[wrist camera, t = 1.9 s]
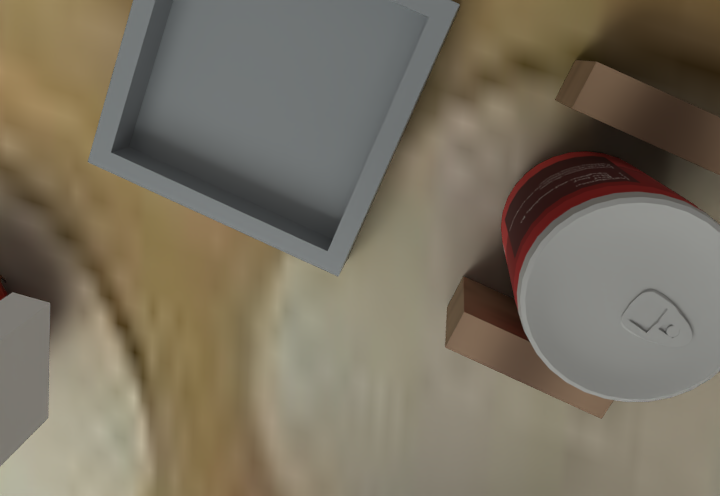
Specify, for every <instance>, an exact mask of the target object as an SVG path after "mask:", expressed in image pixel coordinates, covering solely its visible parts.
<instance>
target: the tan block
mask: <svg viewBox="0 0 720 496" xmlns="http://www.w3.org/2000/svg"><path fill="white" fill-rule="evenodd" d="M555 100H556V101H558V102H560V103H562V104H564V105H566V106H568V107H570V108H572V109H574V110H577V111H579V112H581V113H583V114H585V115H588V116H590V117H592V118H594V119H597V120H599V121H601V122H603V123H605V124H608V125H610V126H612V127H614V128H616V129H619V130H621V131H623V132H625V133H628V134H630V135H632V136H634V137H636V138H639V139H641V140H643V141H645V142H647V143H650V144H652V145H654V146H656V147H659V148H661V149H663V150H665V151H667V152H670V153H672V154H674V155H676V156H679V157H681V158H683V159H685V160H687V161H690V162H692V163H694V164H696V165H698V166H701V167H703V168H705V169H707V170H710V171H712V172H714V173H716V174H718V175H720V117H718V116H716V115H714V114H712V113H710V112H707V111H705V110H703V109H701V108H699V107H696V106H694V105H692V104H690V103H687V102H685V101H683V100H681V99H679V98H676V97H674V96H672V95H670V94H667V93H665V92H663V91H661V90H659V89H656V88H654V87H652V86H650V85H647V84H645V83H643V82H641V81H639V80H636V79H634V78H632V77H630V76H627V75H625V74H623V73H621V72H619V71H616V70H614V69H612V68H610V67H607V66H605V65H603V64H601V63H599V62H594V61H581V60H575V62H574V64H573V66H572V68H571V70H570V71H569V73H568V75H567V77H566V79H565V81H564V83H563V85H562V87H561V89H560V91H559V93H558V95H557V97H556V98H555ZM445 347H446V348H448V349H450V350H452V351H454V352H457V353H459V354H461V355H463V356H465V357H467V358H470V359H472V360H474V361H476V362H478V363H481V364H483V365H485V366H487V367H489V368H491V369H494V370H496V371H498V372H500V373H502V374H505V375H507V376H509V377H511V378H513V379H515V380H518V381H520V382H522V383H524V384H526V385H529V386H531V387H533V388H535V389H537V390H540V391H542V392H544V393H546V394H548V395H550V396H553V397H555V398H557V399H559V400H561V401H564V402H566V403H568V404H570V405H572V406H574V407H577V408H579V409H581V410H583V411H585V412H588V413H590V414H592V415H594V416H596V417H599V418H601V419H602V417H603V416H604V414H605V413H606V411H607V410H608V408H609V407H610V405H611V404H612V402H613V401H614V400H610V399H604V398H601V397H598V396H595V395H592V394H589V393H586V392H584V391H582V390H580V389H578V388H576V387H574V386H572V385H571V384H569V383H567V382H565V381H564V380H563V379H561V378H560V377H559V376H558V375H556V374H555V373H554V372H553V371H551V370H550V369H549V368H548V366H547V365H546V364H545V363H544V362H543V361H542V359H541V358H540V357H539V356H538V355H537V353H536V352H535V350H534V348H533V346H532V344H531V343H530V341H529V339H528V337H527V335H526V334H525V332H524V329H523V326H522V323H521V320H520V316H519V313H518V309H517V306H516V303H515V299H513V298H510V297H508V296H506V295H504V294H502V293H499V292H497V291H495V290H493V289H491V288H488V287H486V286H484V285H482V284H480V283H477V282H475V281H473V280H471V279H469V278H467V277H464V276H463V278H462V280H461V282H460V284H459V285H458V287H457V289H456V291H455V293H454V295H453V297H452V299H451V301H450V303H449V305H448V307H447V320H446V342H445Z"/></svg>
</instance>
